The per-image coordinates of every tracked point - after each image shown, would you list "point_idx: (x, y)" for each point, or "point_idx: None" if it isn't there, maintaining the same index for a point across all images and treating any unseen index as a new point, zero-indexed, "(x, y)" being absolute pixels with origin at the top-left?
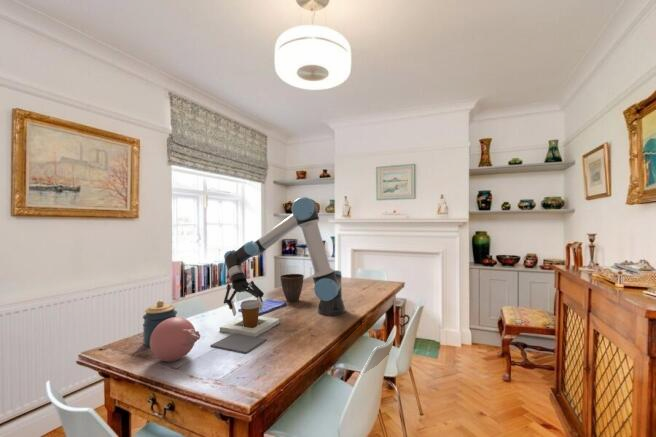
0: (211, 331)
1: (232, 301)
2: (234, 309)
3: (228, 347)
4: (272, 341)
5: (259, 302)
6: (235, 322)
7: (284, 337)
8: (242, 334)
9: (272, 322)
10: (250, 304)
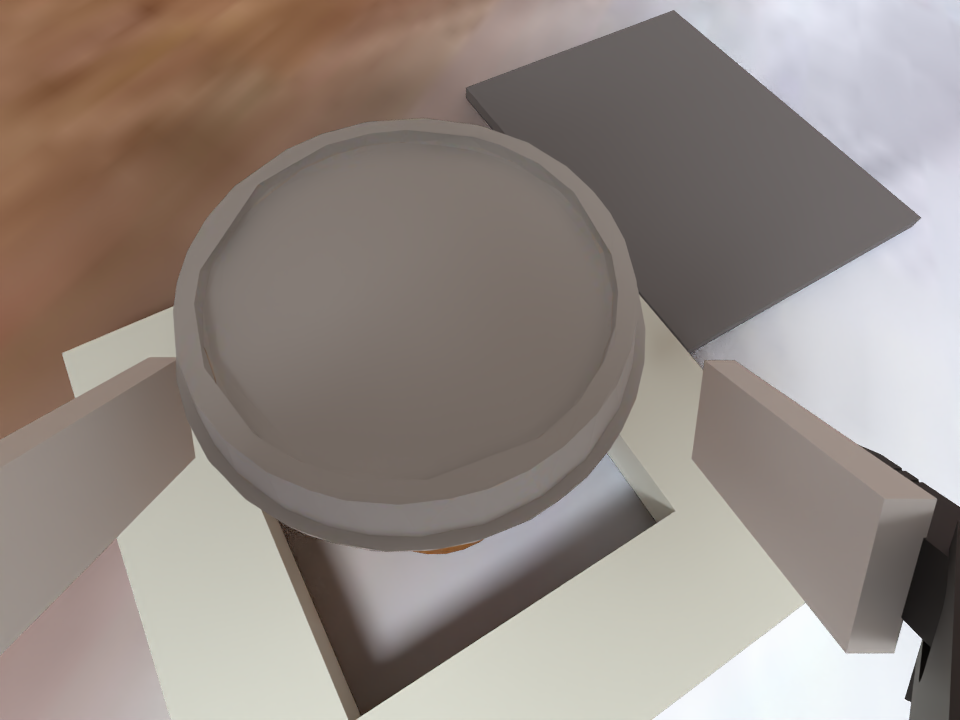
0: None
1: (892, 487)
2: (758, 385)
3: (776, 111)
4: (442, 67)
5: (236, 196)
6: (616, 612)
7: (329, 74)
8: None
9: None
10: (489, 130)
